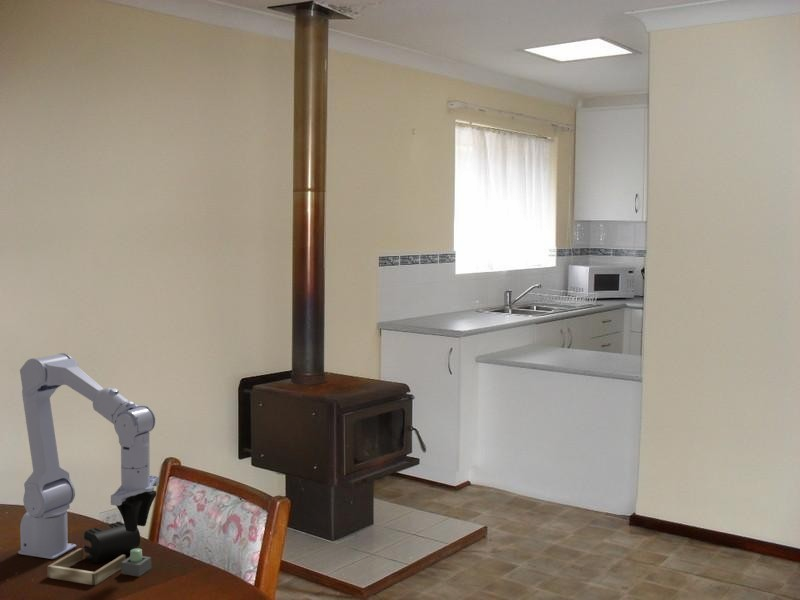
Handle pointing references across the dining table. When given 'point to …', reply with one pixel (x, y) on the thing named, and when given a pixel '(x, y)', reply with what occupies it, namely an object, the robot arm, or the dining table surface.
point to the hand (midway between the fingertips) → (135, 528)
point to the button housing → (136, 566)
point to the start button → (136, 555)
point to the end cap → (110, 542)
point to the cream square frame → (81, 576)
